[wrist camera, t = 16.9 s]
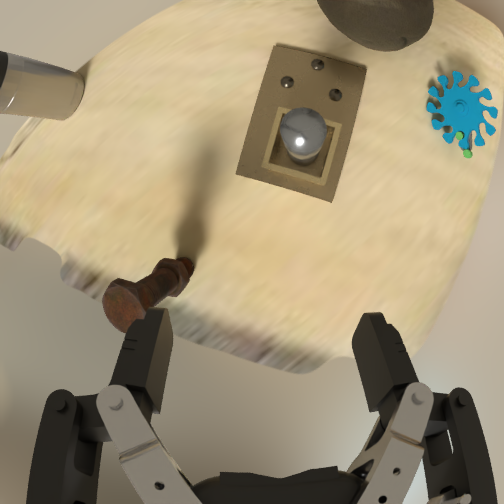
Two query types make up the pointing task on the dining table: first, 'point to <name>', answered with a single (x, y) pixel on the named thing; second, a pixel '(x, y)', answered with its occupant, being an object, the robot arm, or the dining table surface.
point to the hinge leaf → (295, 96)
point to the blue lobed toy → (462, 111)
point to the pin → (303, 135)
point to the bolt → (145, 292)
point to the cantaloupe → (380, 21)
